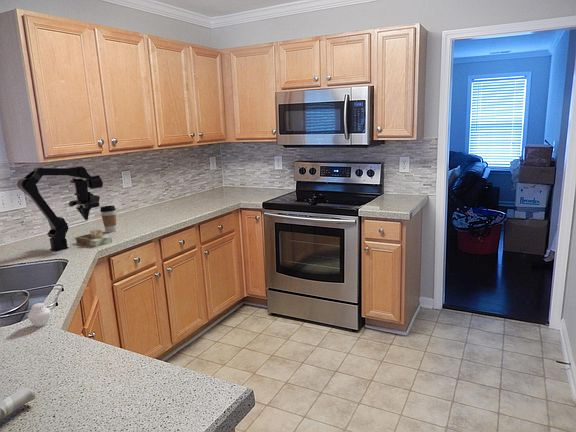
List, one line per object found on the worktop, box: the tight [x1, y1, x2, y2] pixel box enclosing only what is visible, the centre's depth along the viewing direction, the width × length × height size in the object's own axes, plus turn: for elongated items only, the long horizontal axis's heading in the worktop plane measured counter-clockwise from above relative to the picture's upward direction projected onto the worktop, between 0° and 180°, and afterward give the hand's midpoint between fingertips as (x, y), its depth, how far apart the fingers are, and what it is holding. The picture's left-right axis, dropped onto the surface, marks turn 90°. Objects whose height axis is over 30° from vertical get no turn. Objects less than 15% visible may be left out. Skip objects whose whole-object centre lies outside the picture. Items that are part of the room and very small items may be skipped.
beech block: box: [89, 228, 103, 239], centre depth 225 cm, size 4×4×4 cm
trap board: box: [75, 233, 113, 248], centre depth 228 cm, size 9×18×3 cm, turn 56°
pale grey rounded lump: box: [27, 302, 51, 328], centre depth 132 cm, size 6×6×7 cm
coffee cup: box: [99, 205, 117, 234], centre depth 250 cm, size 8×8×15 cm
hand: (86, 220), depth 228 cm, fingers closed
